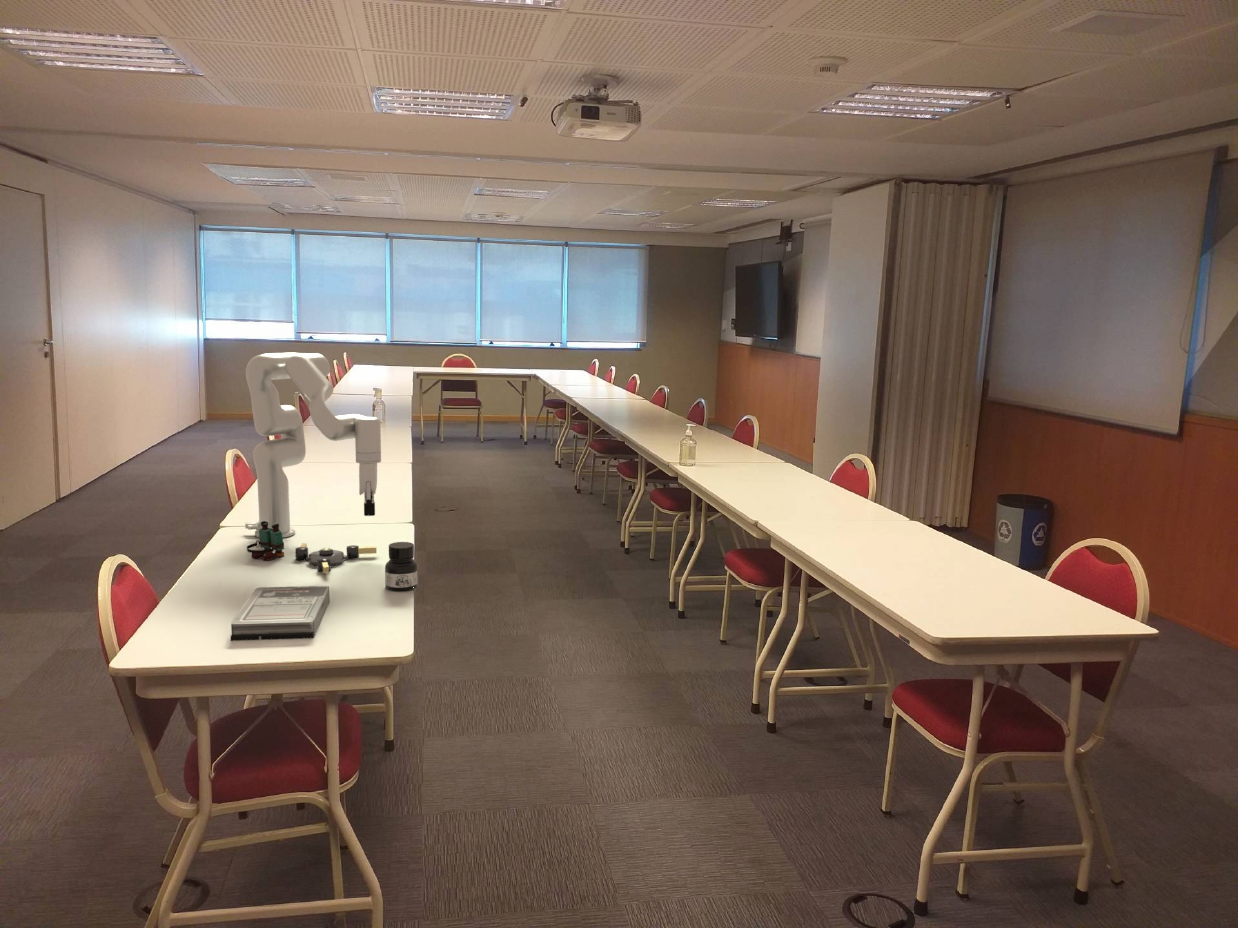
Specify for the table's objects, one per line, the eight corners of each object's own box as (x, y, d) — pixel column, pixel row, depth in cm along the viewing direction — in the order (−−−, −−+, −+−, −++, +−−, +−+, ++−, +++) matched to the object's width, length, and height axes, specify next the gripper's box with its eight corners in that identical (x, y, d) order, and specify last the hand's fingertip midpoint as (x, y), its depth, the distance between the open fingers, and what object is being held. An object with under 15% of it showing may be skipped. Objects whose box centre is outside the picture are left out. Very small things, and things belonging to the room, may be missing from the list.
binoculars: (239, 528, 267) (265, 518, 275) (243, 561, 270) (269, 550, 278) (261, 532, 263) (286, 522, 272) (265, 566, 266) (290, 554, 275)
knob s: (317, 569, 262) (316, 558, 261) (330, 568, 263) (329, 557, 263) (319, 577, 254) (319, 566, 253) (333, 576, 255) (332, 565, 255)
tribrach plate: (303, 569, 262) (302, 555, 261) (307, 558, 272) (306, 545, 272) (346, 567, 264) (345, 554, 264) (348, 556, 275) (348, 543, 275)
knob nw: (307, 560, 270) (307, 549, 269) (295, 560, 269) (294, 550, 269) (310, 552, 278) (310, 542, 278) (298, 552, 278) (297, 542, 277)
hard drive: (230, 642, 206) (229, 624, 206) (256, 603, 233) (256, 587, 232) (313, 639, 210) (313, 621, 209) (330, 601, 236) (330, 585, 235)
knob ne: (346, 559, 273) (346, 548, 272) (347, 555, 276) (346, 545, 276) (376, 558, 275) (376, 547, 274) (376, 554, 278) (376, 544, 278)
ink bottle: (382, 592, 243) (382, 549, 241) (384, 582, 252) (383, 541, 250) (419, 591, 245) (419, 548, 243) (420, 581, 254) (419, 540, 251)
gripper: (356, 453, 282) (358, 510, 285) (354, 461, 268) (355, 521, 271) (381, 452, 284) (382, 509, 287) (380, 461, 269) (381, 520, 272)
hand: (369, 515), depth 279 cm, fingers closed
